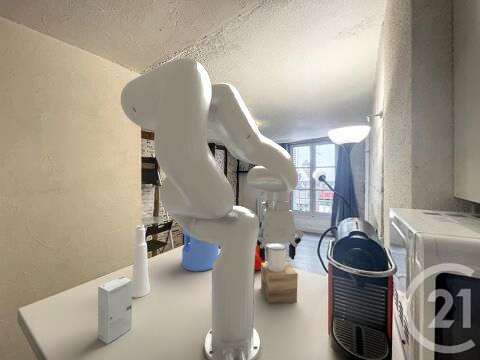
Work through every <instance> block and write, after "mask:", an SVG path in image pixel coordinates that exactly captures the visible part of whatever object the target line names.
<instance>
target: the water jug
mask: <svg viewBox="0 0 480 360" xmlns="http://www.w3.org/2000/svg"><path fill="white" fill-rule="evenodd" d="M181 228H182V227H181ZM181 232H182V234H183V239H184V241H183V244H184V246H183V247H182V249H181V250H182V252H181V253H182V256H181V258H182V259H181V265H182V267H183V268H184V269H185V270H186V271H187V270H188V271H190V272H205V271H208V270H212V267H213V263H214V261H215V260H216V258H217V257H218V255H219V247H218V246H215V245H212V244H208V243H204V242H201V241H198V240H196V239H194V238H193V237H191V236H190V235H189V234H188V233H187V232H186V231H185V230H184V229H183V228H182V231H181Z"/></svg>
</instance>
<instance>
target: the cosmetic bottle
mask: <svg viewBox="0 0 480 360" xmlns="http://www.w3.org/2000/svg"><path fill="white" fill-rule="evenodd" d="M133 245H134V246H133V257H132V259H133V260H132V279H131V280H132V298H134V299H135V298H136V299H138V298H142V297H145V296H147V295H148V294H150V292H151V291H152V290H151V286H150V285H151V284H150V279H149V277H150V276H149V265H148V264H149V263H148V244H147V242H146V228H145V224H138V225H136V228H135V243H134V244H133Z"/></svg>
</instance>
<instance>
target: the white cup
mask: <svg viewBox="0 0 480 360" xmlns="http://www.w3.org/2000/svg"><path fill="white" fill-rule="evenodd" d="M287 251H288V246H286V245H285V244H284V243H266V245H265V257H266V263H267V267H268V269H269V270H271V271H274V272H281V271H284V270H285V264H286V262H287V253H288V252H287Z"/></svg>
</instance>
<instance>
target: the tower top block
mask: <svg viewBox="0 0 480 360" xmlns="http://www.w3.org/2000/svg"><path fill="white" fill-rule="evenodd" d="M261 277H262V279H263V280H264V282H265V284H266V286H267V288H268V289H269V291H270V290H282V289H293V288H297V289H298V277H299V275H298V272H297V270H295V269H294V268H293V267H292V266H291V265H290V264H289V263H288V262H287V261H286V264H285V270H284V271H281V272H274V271H271V270H269V269H268V267H267V262H265V263H261V269H260V278H261Z"/></svg>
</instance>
